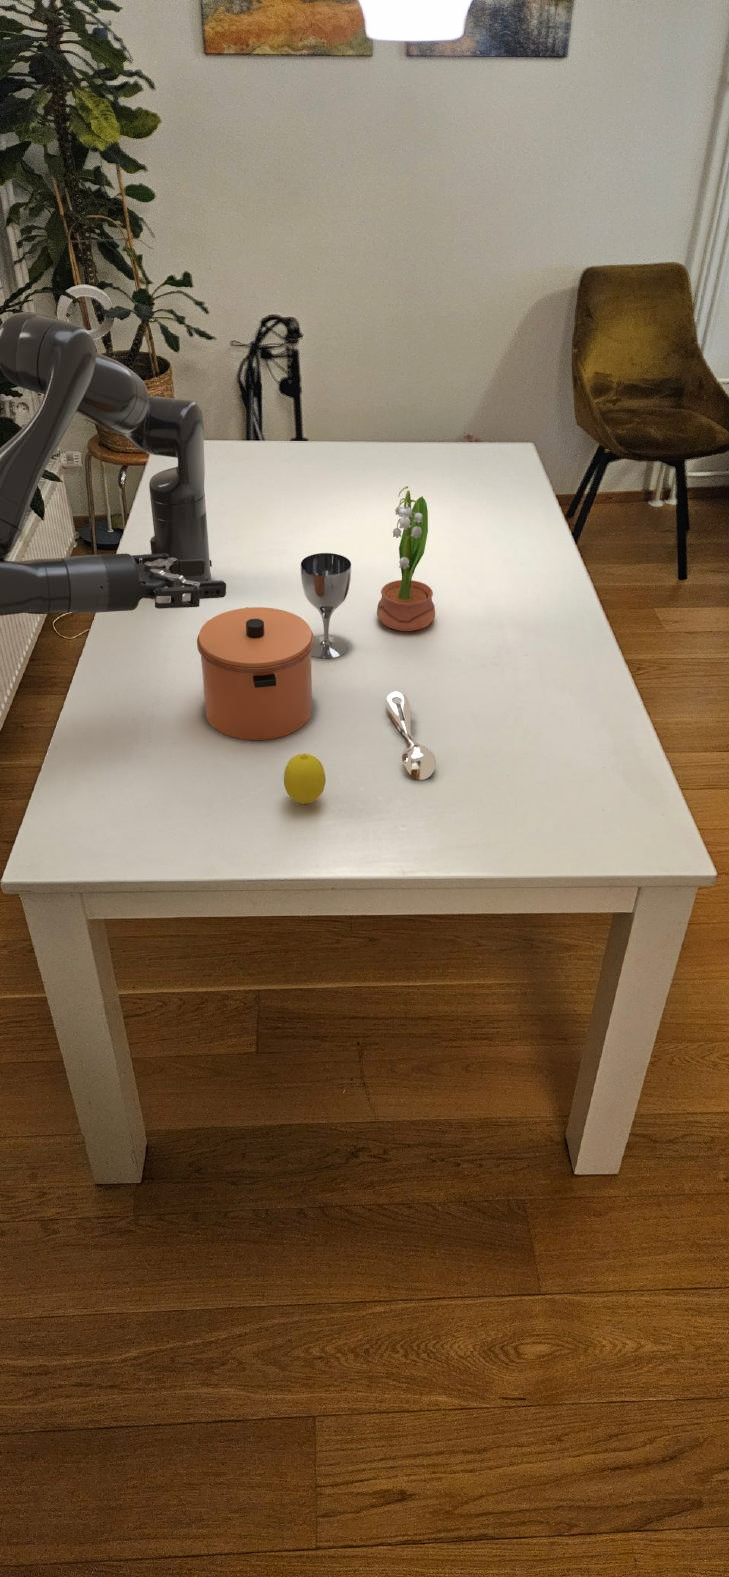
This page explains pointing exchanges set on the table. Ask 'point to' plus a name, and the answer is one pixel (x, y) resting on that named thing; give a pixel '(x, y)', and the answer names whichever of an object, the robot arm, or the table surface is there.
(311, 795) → the lemon
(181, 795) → the table surface
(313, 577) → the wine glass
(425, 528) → the potted flower
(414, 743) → the silver elongated piece
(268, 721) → the copper pot
